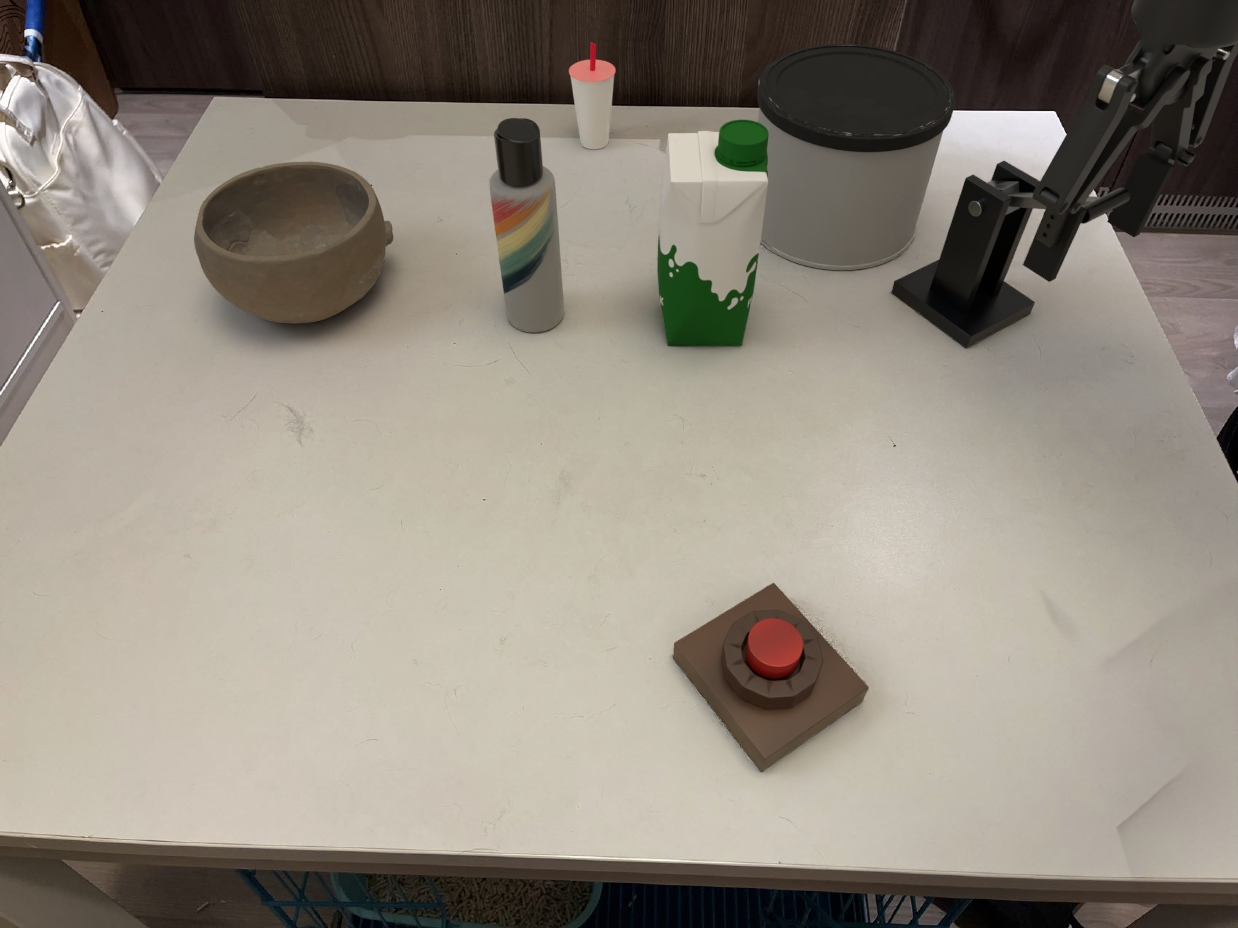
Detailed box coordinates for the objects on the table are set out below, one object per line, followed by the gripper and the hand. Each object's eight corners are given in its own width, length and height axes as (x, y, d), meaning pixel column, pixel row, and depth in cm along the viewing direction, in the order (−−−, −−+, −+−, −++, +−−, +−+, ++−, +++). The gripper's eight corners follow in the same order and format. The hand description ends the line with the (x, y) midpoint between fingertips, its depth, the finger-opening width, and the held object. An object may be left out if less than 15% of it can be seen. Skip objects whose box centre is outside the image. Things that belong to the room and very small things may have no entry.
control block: (862, 701, 61) (875, 674, 58) (761, 772, 58) (768, 748, 55) (770, 597, 67) (776, 568, 64) (672, 657, 64) (674, 629, 61)
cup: (616, 130, 110) (615, 32, 101) (616, 153, 107) (615, 54, 98) (572, 130, 110) (567, 32, 101) (572, 154, 107) (566, 54, 98)
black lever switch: (1030, 314, 88) (1085, 190, 77) (966, 348, 84) (1014, 225, 74) (953, 261, 93) (995, 140, 82) (890, 292, 90) (925, 170, 79)
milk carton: (752, 352, 84) (779, 161, 69) (656, 352, 84) (662, 161, 69) (744, 293, 90) (767, 104, 75) (654, 293, 90) (660, 105, 75)
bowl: (412, 239, 96) (394, 154, 89) (379, 351, 85) (354, 265, 77) (255, 237, 97) (222, 153, 89) (200, 348, 85) (158, 263, 78)
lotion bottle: (526, 290, 91) (505, 102, 75) (575, 306, 89) (563, 117, 74) (496, 323, 87) (467, 134, 72) (545, 341, 86) (527, 150, 70)
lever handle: (1130, 210, 72) (1130, 181, 71) (1089, 231, 70) (1090, 201, 69) (1004, 201, 82) (1003, 175, 81) (966, 219, 80) (964, 192, 79)
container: (869, 295, 90) (905, 159, 78) (711, 230, 97) (722, 98, 85) (945, 207, 99) (986, 75, 88) (796, 154, 107) (816, 26, 95)
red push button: (810, 661, 60) (814, 648, 58) (768, 689, 58) (771, 676, 57) (775, 622, 61) (779, 608, 60) (734, 647, 60) (737, 635, 59)
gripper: (1263, -89, 64) (1129, 186, 81) (1051, -14, 56) (953, 273, 73) (1369, -56, 59) (1204, 226, 76) (1156, 31, 52) (1026, 324, 69)
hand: (1082, 249), depth 75 cm, fingers open, 10 cm apart
